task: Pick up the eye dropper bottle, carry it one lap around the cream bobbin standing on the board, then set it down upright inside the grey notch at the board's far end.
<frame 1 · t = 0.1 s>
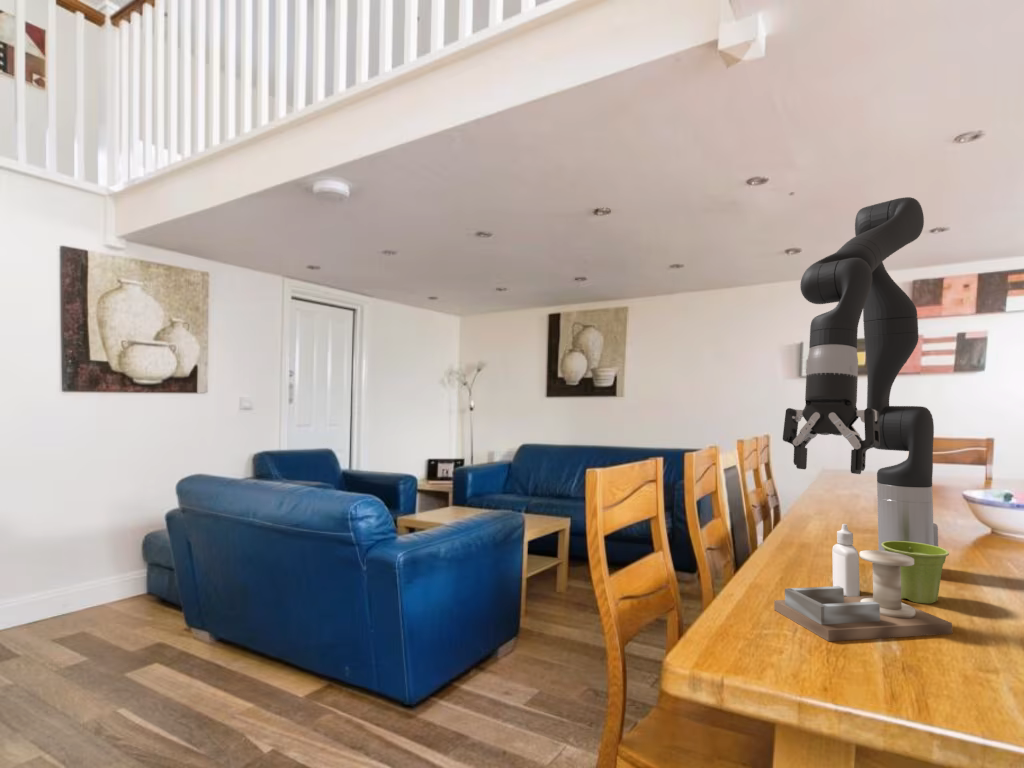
hand: (827, 471, 90), 22 cm above the table, tool pointing down, fingers open, 8 cm apart
plant pot: (915, 599, 94), on the table
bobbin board: (858, 621, 83), on the table
eye dropper bottle: (846, 593, 97), on the table
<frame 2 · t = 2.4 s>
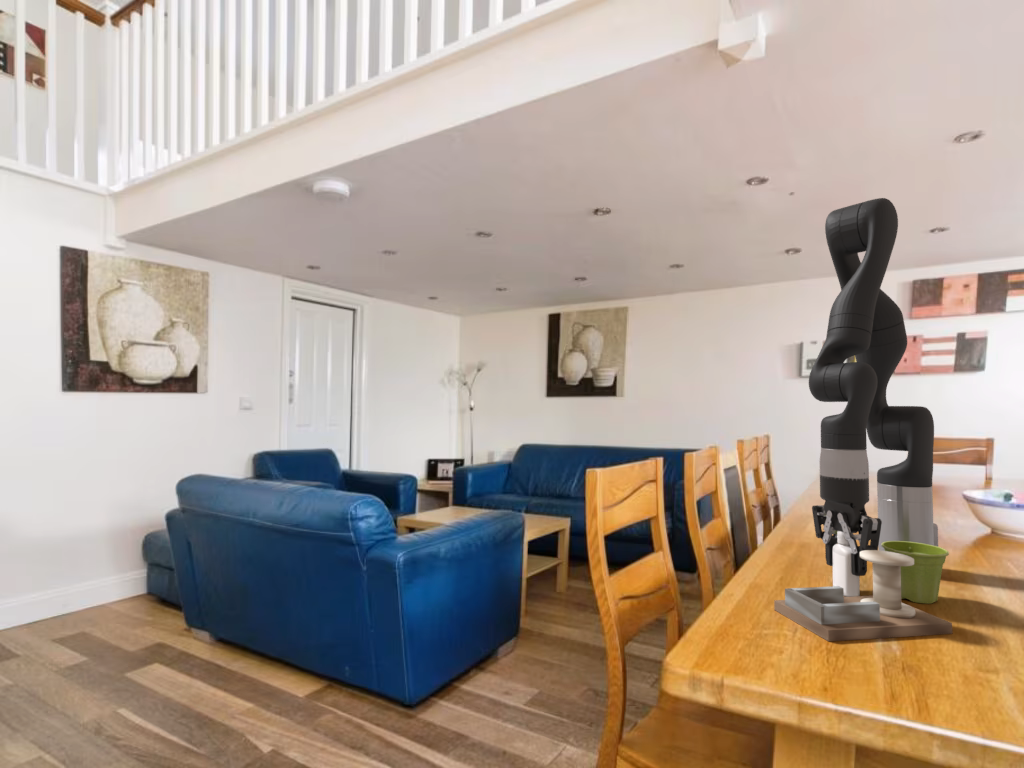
hand: (845, 569, 97), 4 cm above the table, tool pointing down, fingers closed on eye dropper bottle, 5 cm apart
eye dropper bottle: (846, 593, 97), on the table, touching gripper
everything else where it was.
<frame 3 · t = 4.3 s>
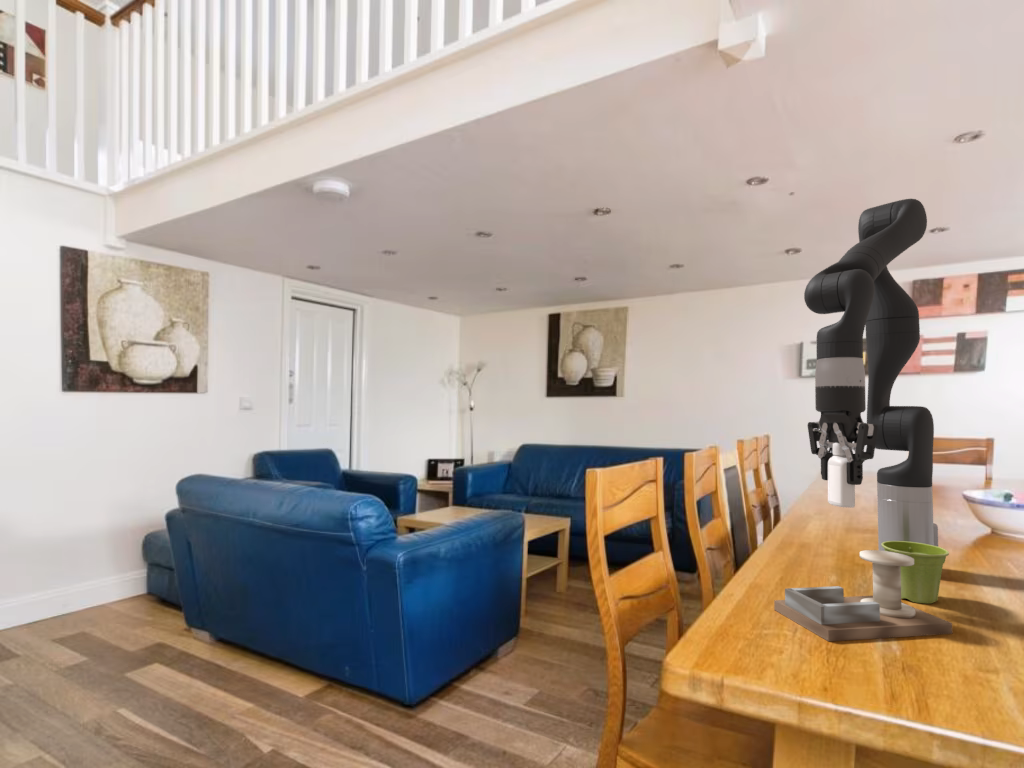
hand: (840, 481, 95), 20 cm above the table, tool pointing down, fingers closed on eye dropper bottle, 5 cm apart
eye dropper bottle: (841, 506, 95), point 16 cm above the table, touching gripper
everything else where it was.
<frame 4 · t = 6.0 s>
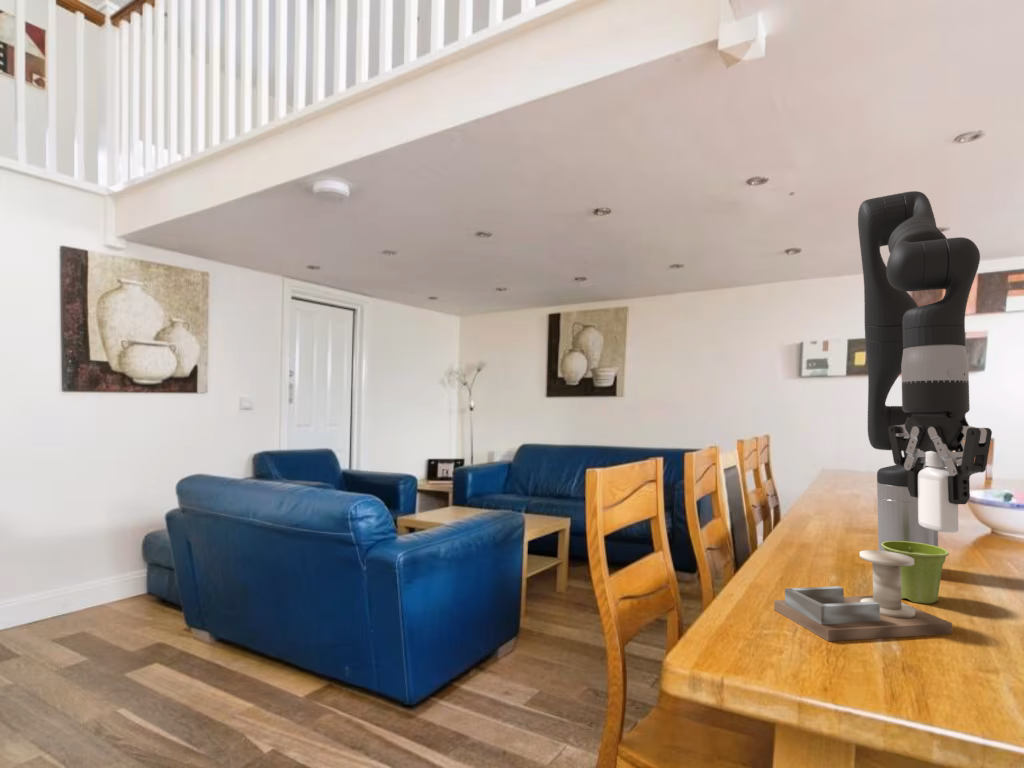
hand: (937, 499, 76), 20 cm above the table, tool pointing down, fingers closed on eye dropper bottle, 5 cm apart
eye dropper bottle: (937, 530, 76), point 16 cm above the table, touching gripper
everything else where it was.
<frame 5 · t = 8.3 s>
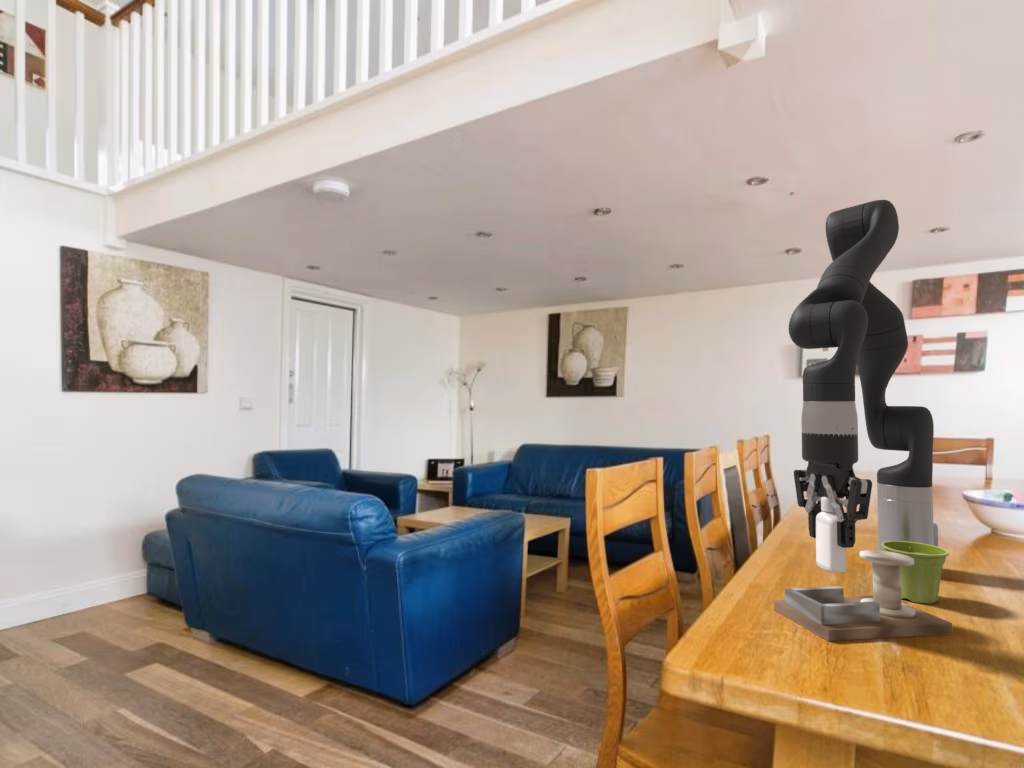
hand: (830, 541, 83), 12 cm above the table, tool pointing down, fingers closed on eye dropper bottle, 5 cm apart
eye dropper bottle: (830, 569, 83), point 8 cm above the table, touching gripper
everything else where it was.
when the fingers open (7 cm above the table, at t = 9.8 s): eye dropper bottle drops 1 cm, resting on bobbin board.
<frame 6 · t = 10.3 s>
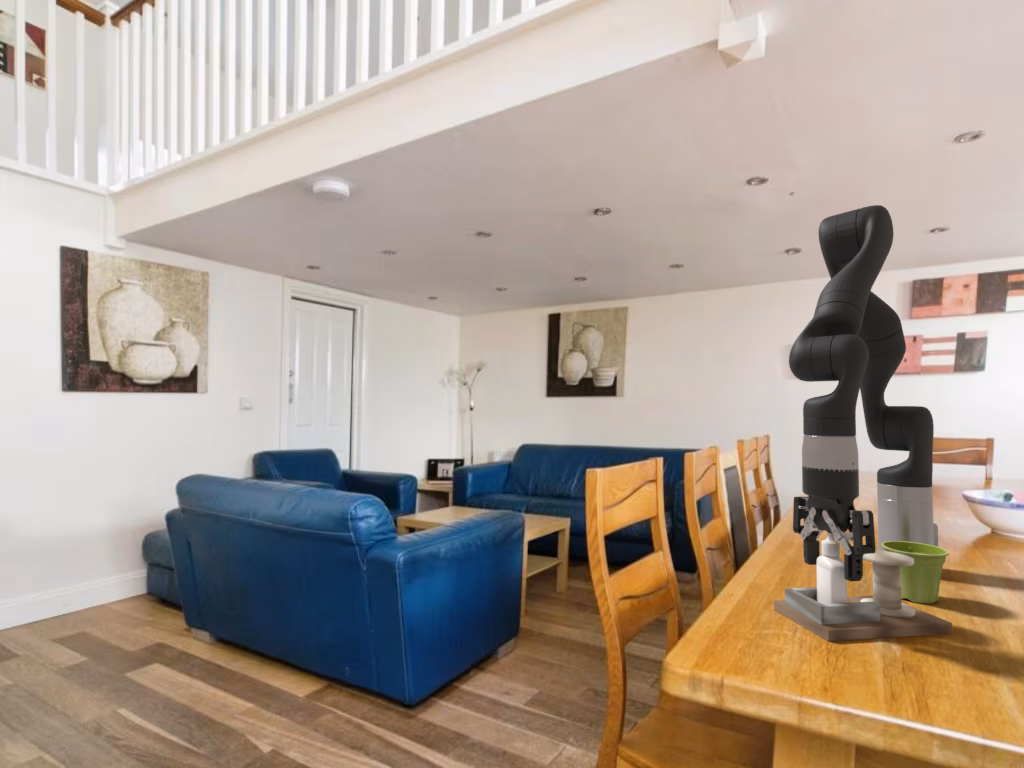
hand: (831, 571, 83), 8 cm above the table, tool pointing down, fingers open, 8 cm apart
eye dropper bottle: (832, 613, 83), point 1 cm above the table, touching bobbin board
everything else where it was.
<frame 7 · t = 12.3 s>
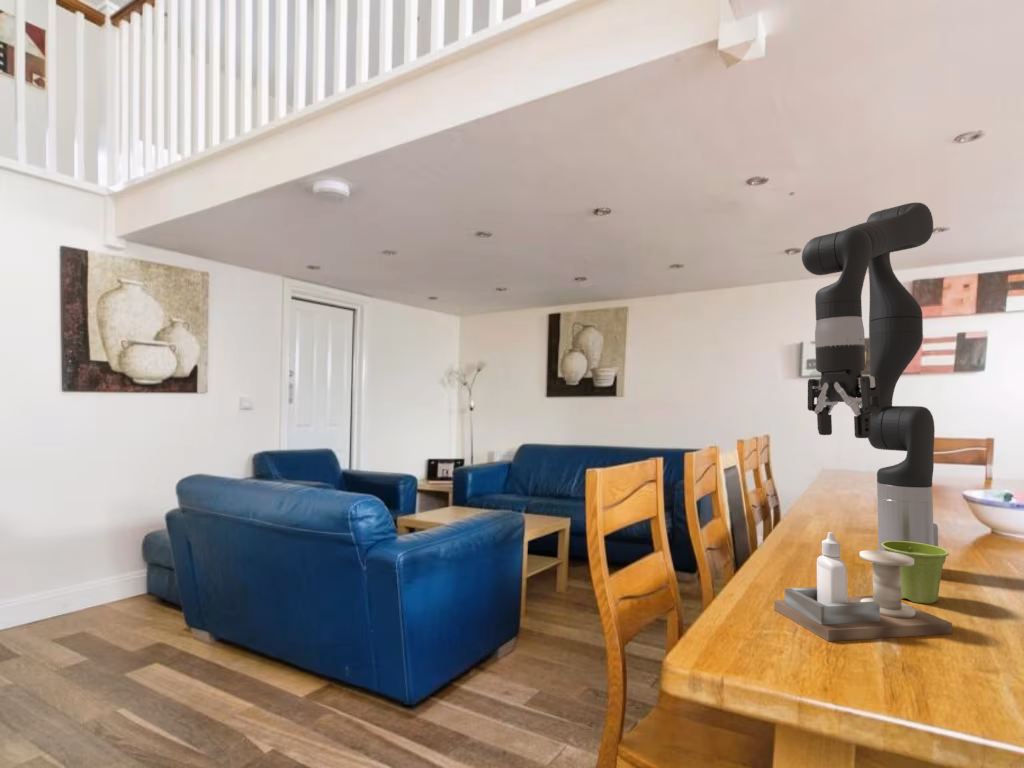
hand: (842, 436, 96), 28 cm above the table, tool pointing down, fingers open, 8 cm apart
nothing on the table moved.
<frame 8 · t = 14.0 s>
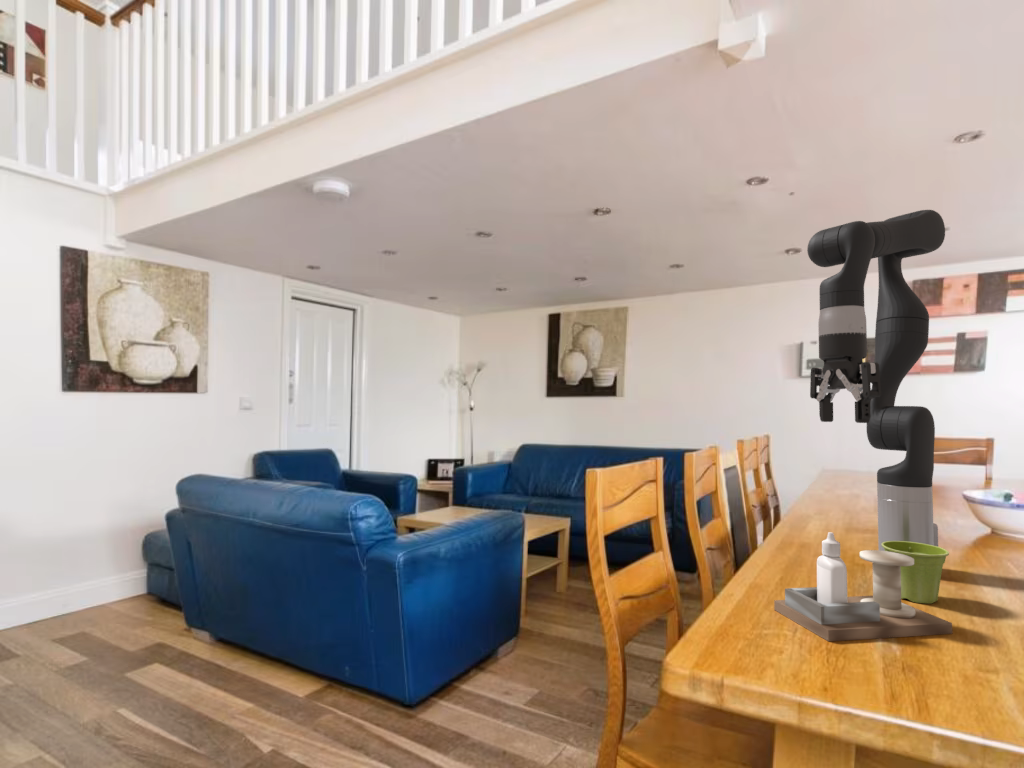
hand: (843, 422, 99), 30 cm above the table, tool pointing down, fingers open, 8 cm apart
nothing on the table moved.
at the end: eye dropper bottle inside the target area on the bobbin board (0.0 cm from its centre), point 1.3 cm above the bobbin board's base; eye dropper bottle tilted 0°; the gripper is holding nothing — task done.
